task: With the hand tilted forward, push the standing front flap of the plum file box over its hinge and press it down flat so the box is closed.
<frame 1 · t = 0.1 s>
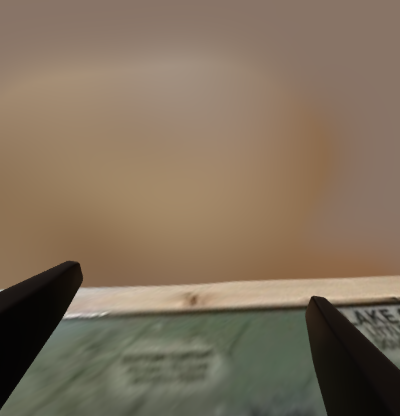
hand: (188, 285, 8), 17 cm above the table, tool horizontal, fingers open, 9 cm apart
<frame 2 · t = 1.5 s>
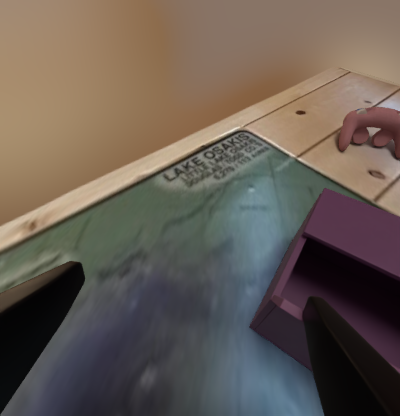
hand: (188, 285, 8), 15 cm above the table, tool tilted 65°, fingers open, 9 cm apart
file box: (337, 317, 21), on the table
video game controller: (365, 147, 37), on the table
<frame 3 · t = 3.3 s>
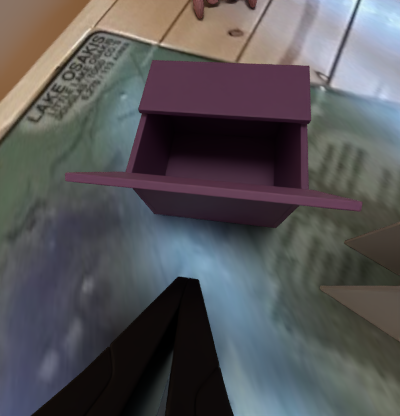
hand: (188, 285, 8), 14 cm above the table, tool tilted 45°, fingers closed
flap: (208, 186, 12), point 11 cm above the table, hinge at 119.3°
file box: (219, 174, 25), on the table
video game controller: (223, 5, 35), on the table
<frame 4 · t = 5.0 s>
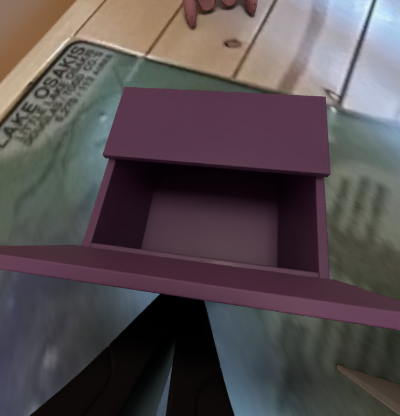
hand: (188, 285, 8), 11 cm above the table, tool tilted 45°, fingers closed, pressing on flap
flap: (188, 273, 8), point 12 cm above the table, hinge at 100.5°, touching gripper
file box: (212, 215, 21), on the table
video game controller: (218, 12, 31), on the table
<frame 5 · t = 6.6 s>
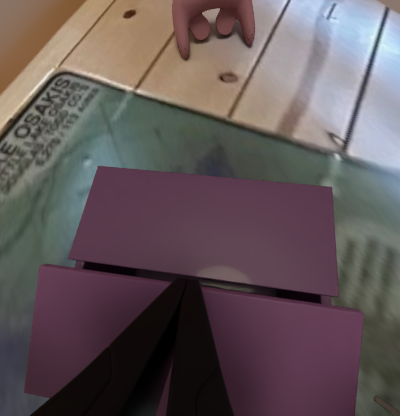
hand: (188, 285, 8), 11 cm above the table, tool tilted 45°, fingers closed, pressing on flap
flap: (182, 353, 9), point 10 cm above the table, hinge at 17.8°, touching gripper
file box: (204, 282, 19), on the table
video game controller: (213, 41, 29), on the table
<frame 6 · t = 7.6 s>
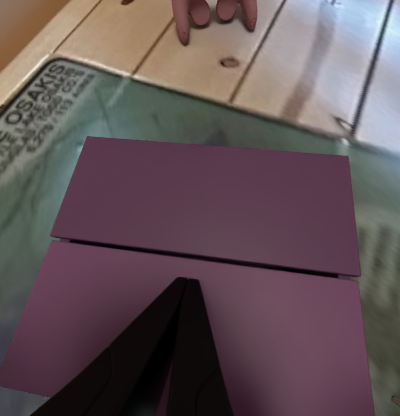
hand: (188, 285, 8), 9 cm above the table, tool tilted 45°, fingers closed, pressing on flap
flap: (183, 330, 8), point 9 cm above the table, hinge at -2.3°, touching gripper
file box: (204, 272, 18), on the table
video game controller: (214, 27, 28), on the table
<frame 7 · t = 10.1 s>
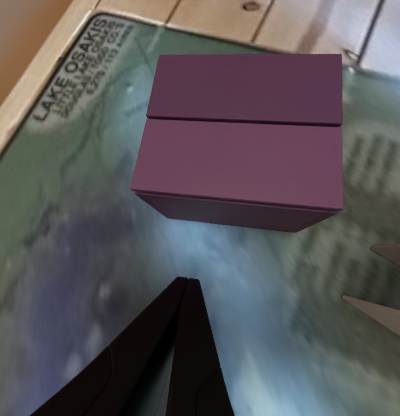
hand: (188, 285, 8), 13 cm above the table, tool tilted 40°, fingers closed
flap: (233, 160, 14), point 9 cm above the table, hinge at -1.7°
file box: (234, 174, 24), on the table
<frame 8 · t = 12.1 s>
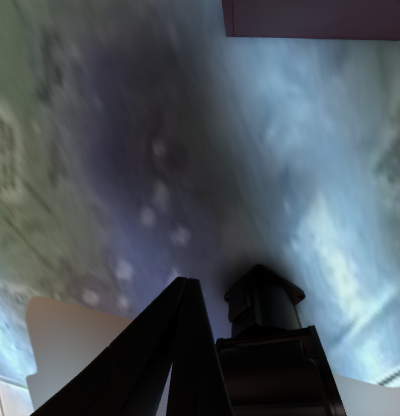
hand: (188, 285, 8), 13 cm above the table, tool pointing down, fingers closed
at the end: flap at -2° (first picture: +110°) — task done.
